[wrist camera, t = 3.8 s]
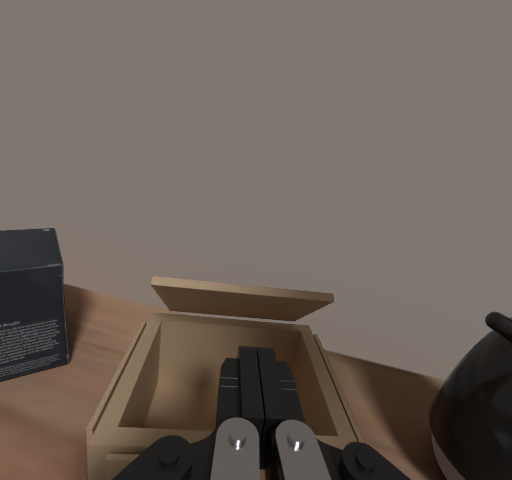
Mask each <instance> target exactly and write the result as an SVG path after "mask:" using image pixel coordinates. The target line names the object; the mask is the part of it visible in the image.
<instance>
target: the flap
mask: <svg viewBox="0 0 512 480" xmlns="http://www.w3.org/2000/svg"><path fill="white" fill-rule="evenodd" d="M151 286H152V287H153V288H154V290H155V291H156V292H157V294H158V295H159V296H160V298H161V299H162V301H163V302H164V303H165V305H166V306H167V307H168V309H169V310H170V311H179V312H190V313H191V312H192V313H202V314H214V315H226V316H237V317H249V318H261V319H273V320H284V321H296V320H298V319H300V318H302V317H304V316H306V315H308V314H310V313H312V312H314V311H316V310H318V309H320V308H322V307H324V306H326V305H328V304H330V303H332V302H334V295H333V294H330V293H320V292H310V291H299V290H288V289H279V288H268V287H258V286H247V285H237V284H226V283H217V282H206V281H196V280H185V279H176V278H165V277H155V276H153V277H152V281H151Z"/></svg>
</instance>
